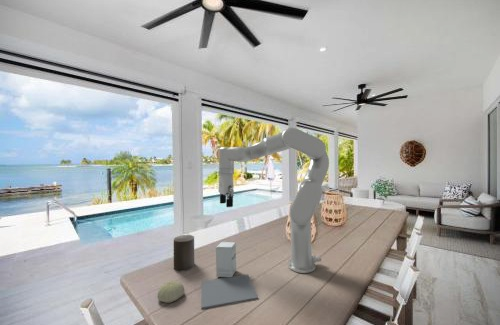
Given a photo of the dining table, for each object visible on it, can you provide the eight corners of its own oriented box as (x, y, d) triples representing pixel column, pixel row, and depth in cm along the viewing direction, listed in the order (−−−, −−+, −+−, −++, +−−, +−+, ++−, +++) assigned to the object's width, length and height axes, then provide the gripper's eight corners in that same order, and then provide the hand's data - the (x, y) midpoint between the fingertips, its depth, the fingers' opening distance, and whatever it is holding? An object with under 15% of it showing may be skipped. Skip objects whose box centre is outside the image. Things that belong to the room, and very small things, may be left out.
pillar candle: (176, 273, 94) (176, 240, 94) (171, 264, 102) (171, 234, 102) (197, 267, 99) (197, 236, 99) (191, 259, 107) (191, 230, 107)
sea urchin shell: (160, 285, 82) (174, 270, 82) (174, 298, 82) (189, 283, 83) (151, 300, 72) (167, 283, 73) (167, 315, 73) (183, 298, 73)
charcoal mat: (248, 275, 90) (248, 274, 90) (258, 298, 75) (258, 297, 75) (201, 282, 86) (201, 281, 86) (201, 309, 70) (201, 307, 70)
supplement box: (232, 277, 88) (231, 247, 89) (215, 276, 89) (215, 246, 90) (237, 270, 95) (236, 242, 96) (221, 269, 97) (220, 241, 98)
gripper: (214, 170, 111) (214, 202, 111) (225, 172, 96) (224, 209, 96) (227, 170, 115) (227, 201, 115) (240, 172, 99) (239, 207, 99)
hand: (226, 205), depth 105 cm, fingers open, 9 cm apart
